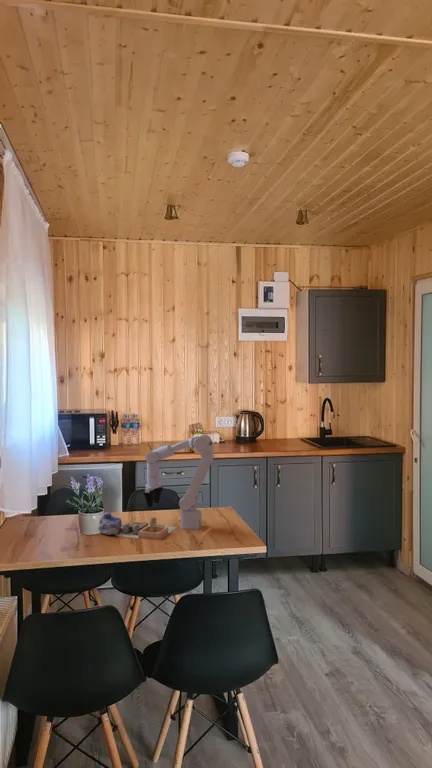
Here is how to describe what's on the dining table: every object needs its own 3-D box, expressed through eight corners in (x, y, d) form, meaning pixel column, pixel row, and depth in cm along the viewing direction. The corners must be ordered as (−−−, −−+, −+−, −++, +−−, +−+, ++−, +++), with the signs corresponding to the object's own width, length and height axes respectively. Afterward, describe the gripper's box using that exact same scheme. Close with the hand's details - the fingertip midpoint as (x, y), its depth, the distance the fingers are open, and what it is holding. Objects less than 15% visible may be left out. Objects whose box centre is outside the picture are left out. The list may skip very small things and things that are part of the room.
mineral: (99, 510, 258) (121, 508, 258) (101, 529, 259) (122, 527, 260) (95, 522, 243) (118, 520, 244) (97, 543, 245) (120, 540, 246)
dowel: (157, 533, 247) (157, 517, 247) (154, 535, 244) (154, 519, 244) (151, 532, 248) (151, 517, 248) (148, 534, 245) (148, 518, 245)
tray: (168, 532, 249) (168, 527, 249) (159, 539, 240) (159, 533, 240) (147, 531, 252) (147, 525, 252) (138, 537, 243) (138, 531, 243)
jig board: (176, 528, 258) (176, 518, 258) (160, 541, 239) (160, 530, 239) (135, 525, 264) (135, 515, 264) (115, 537, 245) (115, 526, 245)
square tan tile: (148, 528, 257) (148, 523, 256) (140, 533, 249) (140, 527, 249) (132, 527, 259) (132, 521, 259) (124, 532, 251) (124, 526, 251)
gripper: (151, 472, 270) (151, 500, 271) (138, 478, 256) (139, 507, 257) (165, 473, 268) (165, 501, 269) (152, 479, 254) (153, 508, 255)
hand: (153, 504), depth 263 cm, fingers open, 7 cm apart
